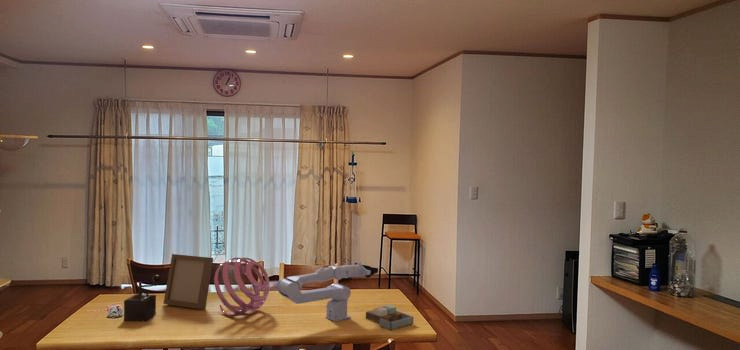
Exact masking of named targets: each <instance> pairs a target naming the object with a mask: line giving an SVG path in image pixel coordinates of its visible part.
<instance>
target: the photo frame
mask: <svg viewBox="0 0 740 350" xmlns="http://www.w3.org/2000/svg"><path fill="white" fill-rule="evenodd" d="M213 263H214V257H207V256H206V257H205V256H198V255H197V256H195V255H188V254H187V255H186V254H185V255H184V254H176V253H171V258H170V264H169V265H170V266H169V270H168V276H167V281H166V288H165V293H164V298H163V299H164V300H163V305H170V306H177V307H183V308H184V307H186V308H189V309H190V308H192V309H197V310H203V309H206V308H207V307H206V306H207V301H208V295H209V289H210V288H209V287H210V282H211V278H212V277H211V276H212V270H213Z"/></svg>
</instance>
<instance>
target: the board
mask: <svg viewBox="0 0 740 350" xmlns="http://www.w3.org/2000/svg"><path fill="white" fill-rule="evenodd" d="M401 313H402V312H401V311H398V310H396V313H392V314H388V315H384V316H377V315H375V314H374V309H372V310H368V311H365V319H366V318H367V320H369V321H371V320H372V322H373V323H376V324H379V325H380V318H382V319H384V320H387V321H389V322H392V321H396V320H400V319H401Z"/></svg>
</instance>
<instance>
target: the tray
mask: <svg viewBox="0 0 740 350" xmlns="http://www.w3.org/2000/svg"><path fill="white" fill-rule="evenodd" d="M412 324H413V325H414V316H412V315H411V314H407V313H404V312H401V319H400V320H396V321H392V322H389V321H387V320H384V319H382V318H380V324H379V327H381V328H384V329H385V330H388V331H390V332H391V331H395V329H396V330H399V329H403V328H406V327H409V326H408V325H410V326H413V325H412ZM405 326H406V327H405ZM402 327H403V328H402ZM398 328H399V329H398Z"/></svg>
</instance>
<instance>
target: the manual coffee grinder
mask: <svg viewBox="0 0 740 350" xmlns="http://www.w3.org/2000/svg"><path fill="white" fill-rule="evenodd" d="M161 279H162V276H160V275H159V274H154V275H153V276H152V281H153V283H152V284H144V285H143V283H142V281H139V282H138V293H135V294H134V295H132V296H130V297H129V298H126V299H124V301H123V321H124V322H148V321H149V320H150V319H152V318H154V316H156V314H157V311H156V310H157V299H156V298H157V295H156V294H149V293H145V292H142V288H149V287H156V286H158V285H160V280H161Z"/></svg>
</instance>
